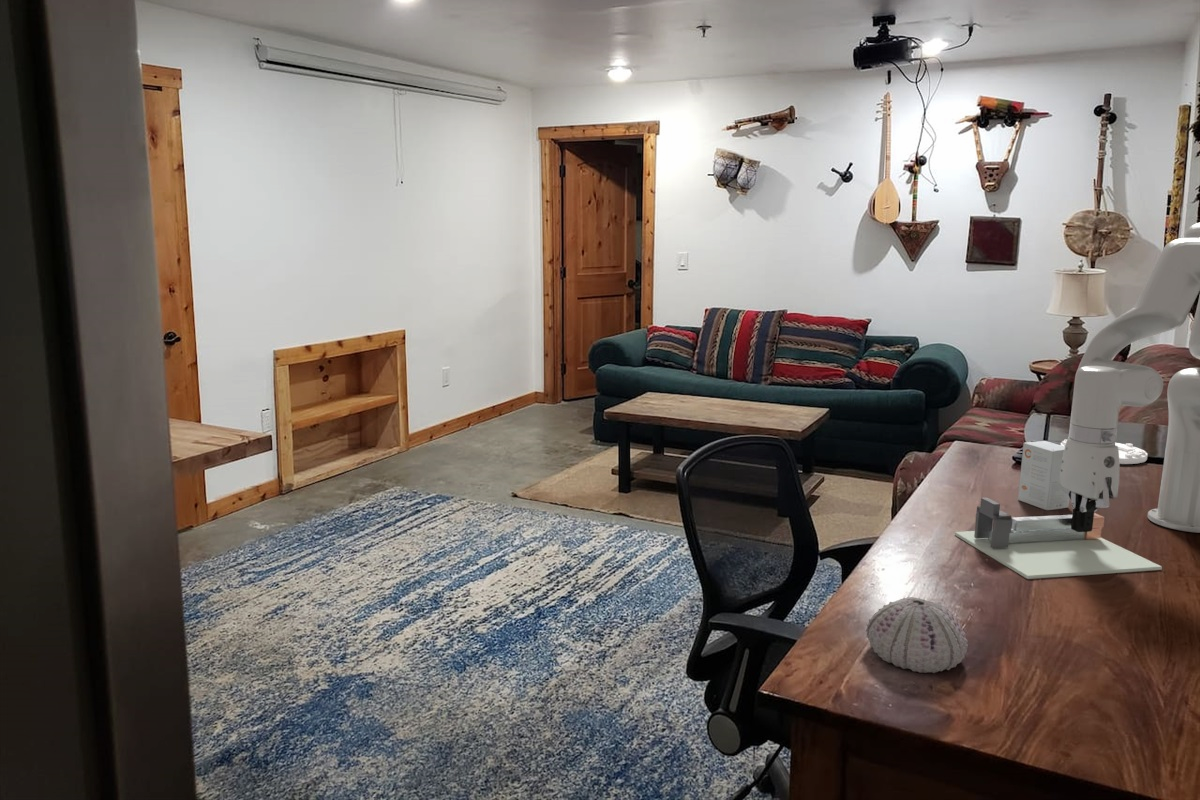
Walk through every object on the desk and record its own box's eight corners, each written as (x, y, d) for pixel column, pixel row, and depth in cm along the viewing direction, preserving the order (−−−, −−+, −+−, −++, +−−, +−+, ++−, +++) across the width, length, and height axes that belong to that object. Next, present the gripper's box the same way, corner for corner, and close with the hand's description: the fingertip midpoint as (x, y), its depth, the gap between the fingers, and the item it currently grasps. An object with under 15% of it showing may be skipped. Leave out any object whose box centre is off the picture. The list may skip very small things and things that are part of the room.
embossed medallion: (1163, 467, 223) (1164, 456, 222) (1084, 466, 223) (1085, 455, 223) (1118, 447, 243) (1119, 437, 242) (1046, 446, 243) (1047, 436, 242)
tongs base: (1090, 538, 171) (1093, 510, 170) (1100, 542, 168) (1103, 515, 167) (986, 544, 167) (989, 516, 166) (994, 549, 164) (997, 521, 163)
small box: (1069, 508, 189) (1076, 448, 186) (1046, 511, 187) (1053, 451, 184) (1039, 497, 196) (1045, 440, 194) (1016, 500, 194) (1022, 442, 192)
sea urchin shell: (981, 654, 124) (986, 600, 123) (944, 691, 114) (949, 633, 113) (890, 625, 133) (893, 575, 131) (848, 657, 123) (852, 603, 121)
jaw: (1093, 522, 170) (1095, 512, 169) (1103, 527, 167) (1104, 517, 167) (1008, 527, 167) (1009, 516, 167) (1017, 531, 164) (1018, 521, 164)
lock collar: (988, 536, 169) (992, 495, 167) (1008, 547, 163) (1012, 505, 161) (974, 537, 168) (978, 496, 166) (993, 548, 162) (997, 506, 161)
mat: (1074, 527, 176) (1074, 525, 176) (1161, 569, 155) (1161, 566, 155) (954, 534, 172) (954, 532, 172) (1027, 579, 151) (1027, 575, 150)
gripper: (1142, 443, 155) (1129, 543, 158) (1081, 424, 169) (1071, 516, 173) (1104, 445, 153) (1092, 545, 157) (1046, 426, 168) (1036, 518, 171)
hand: (1081, 530), depth 165 cm, fingers closed
